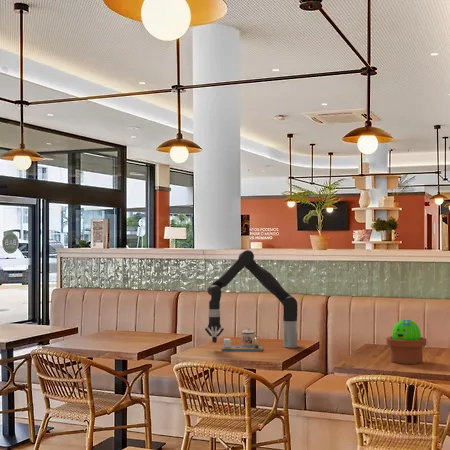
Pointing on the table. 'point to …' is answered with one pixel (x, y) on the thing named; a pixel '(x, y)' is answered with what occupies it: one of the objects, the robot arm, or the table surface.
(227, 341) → the light grey block
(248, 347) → the plate
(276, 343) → the table surface
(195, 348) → the table surface
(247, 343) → the teacup with lid
